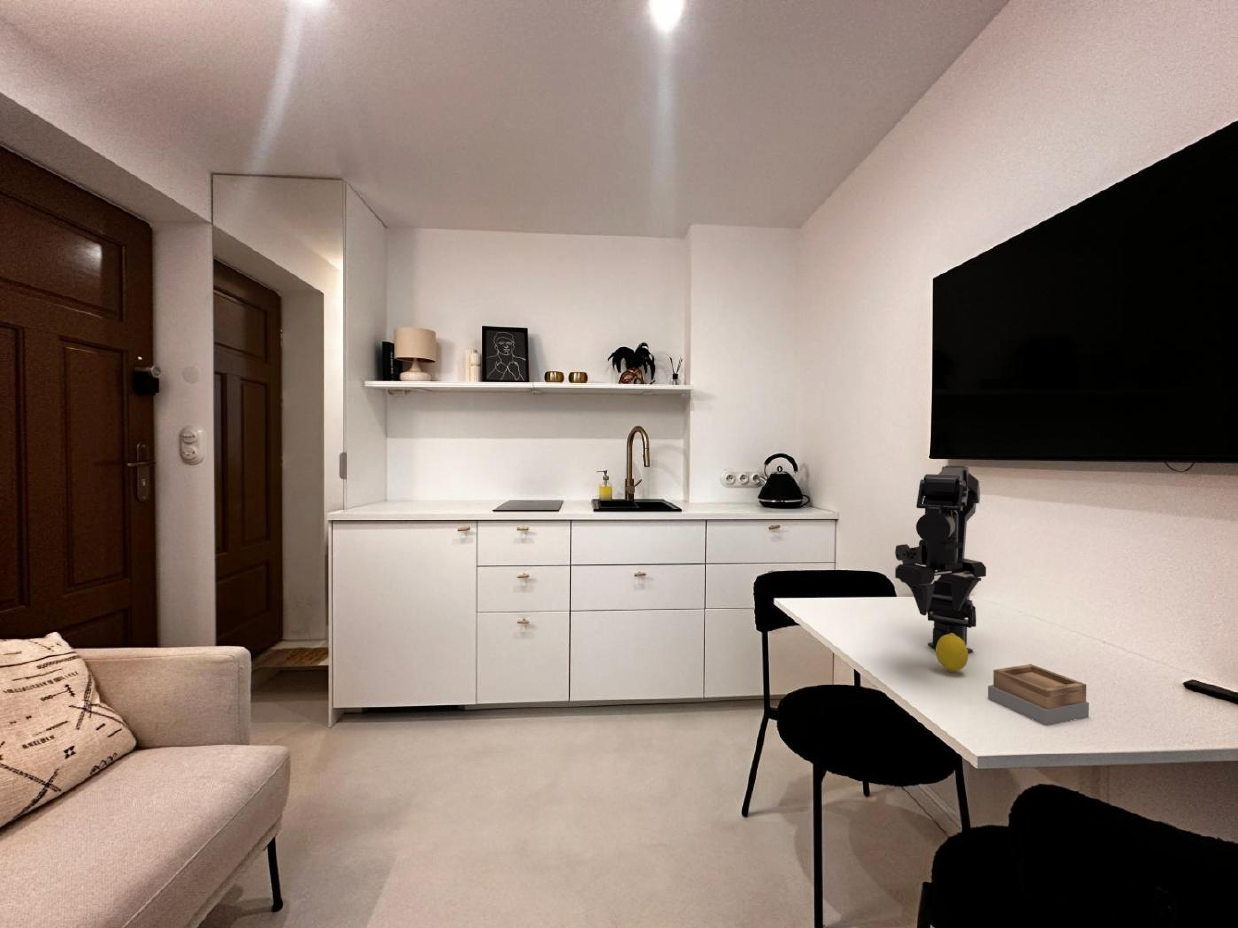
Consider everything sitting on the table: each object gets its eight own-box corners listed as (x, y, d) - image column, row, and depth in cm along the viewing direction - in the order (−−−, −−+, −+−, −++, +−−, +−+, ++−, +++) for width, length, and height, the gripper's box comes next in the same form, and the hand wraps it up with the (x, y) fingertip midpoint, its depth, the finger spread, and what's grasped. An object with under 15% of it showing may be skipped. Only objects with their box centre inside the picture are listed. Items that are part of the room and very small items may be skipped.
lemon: (963, 668, 111) (964, 630, 111) (971, 679, 106) (971, 639, 105) (932, 665, 113) (933, 627, 113) (939, 675, 107) (939, 635, 107)
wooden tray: (1030, 680, 100) (1030, 664, 100) (1086, 701, 91) (1086, 684, 91) (993, 686, 97) (993, 669, 97) (1046, 709, 88) (1047, 691, 88)
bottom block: (1028, 694, 100) (1028, 678, 100) (1088, 720, 91) (1088, 702, 91) (987, 701, 98) (988, 685, 97) (1045, 728, 88) (1046, 710, 88)
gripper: (939, 527, 120) (938, 597, 120) (874, 532, 113) (873, 606, 114) (988, 535, 109) (987, 611, 110) (920, 541, 103) (918, 622, 103)
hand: (939, 612), depth 110 cm, fingers open, 9 cm apart
